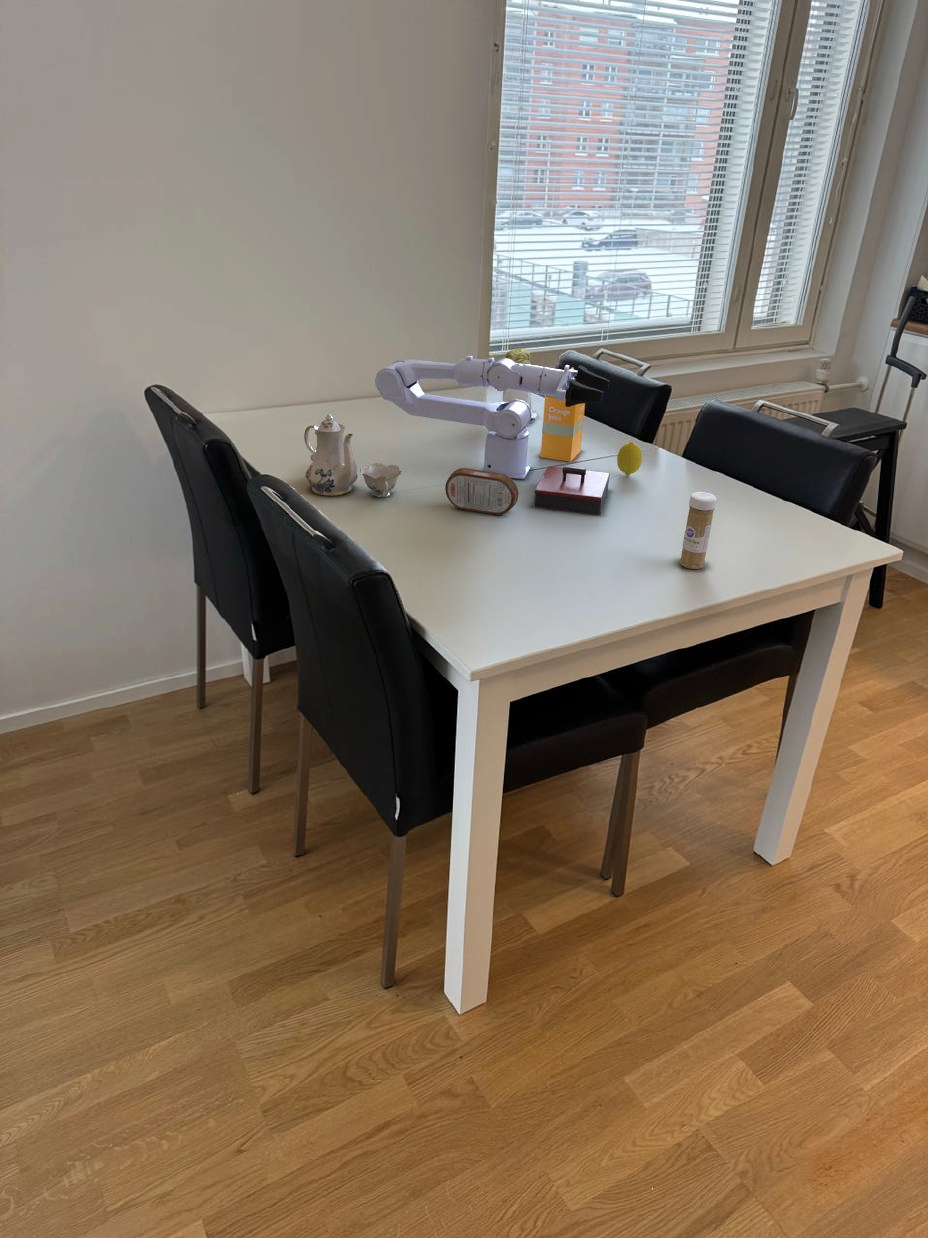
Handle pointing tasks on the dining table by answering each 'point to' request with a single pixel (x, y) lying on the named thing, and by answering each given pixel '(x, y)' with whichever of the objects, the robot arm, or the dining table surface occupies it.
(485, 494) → the tin
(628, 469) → the lemon
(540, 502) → the dark grey open tray
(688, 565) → the sprinkles bottle
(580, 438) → the orange juice
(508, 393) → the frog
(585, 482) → the lid
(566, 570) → the dining table surface
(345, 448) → the chinaware
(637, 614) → the dining table surface
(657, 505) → the dining table surface
